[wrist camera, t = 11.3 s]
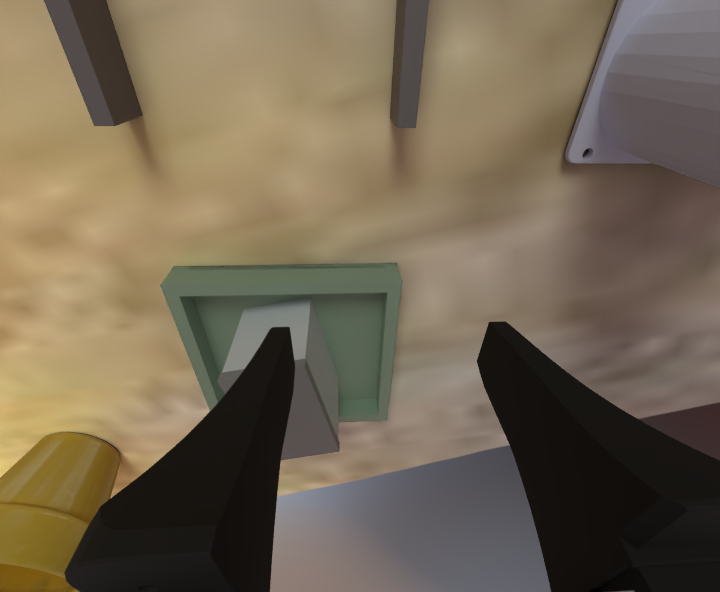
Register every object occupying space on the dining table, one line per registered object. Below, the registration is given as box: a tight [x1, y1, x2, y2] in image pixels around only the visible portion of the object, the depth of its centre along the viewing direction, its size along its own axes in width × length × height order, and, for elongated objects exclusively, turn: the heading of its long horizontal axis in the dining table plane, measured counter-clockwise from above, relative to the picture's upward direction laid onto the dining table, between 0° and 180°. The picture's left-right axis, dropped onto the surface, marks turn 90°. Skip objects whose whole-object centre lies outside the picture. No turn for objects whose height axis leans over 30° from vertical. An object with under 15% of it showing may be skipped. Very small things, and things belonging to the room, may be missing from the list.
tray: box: [160, 263, 402, 422], centre depth 24 cm, size 14×14×2 cm
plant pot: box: [0, 432, 120, 592], centre depth 28 cm, size 10×10×10 cm
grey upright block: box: [217, 297, 339, 460], centre depth 22 cm, size 5×8×6 cm, turn 10°
